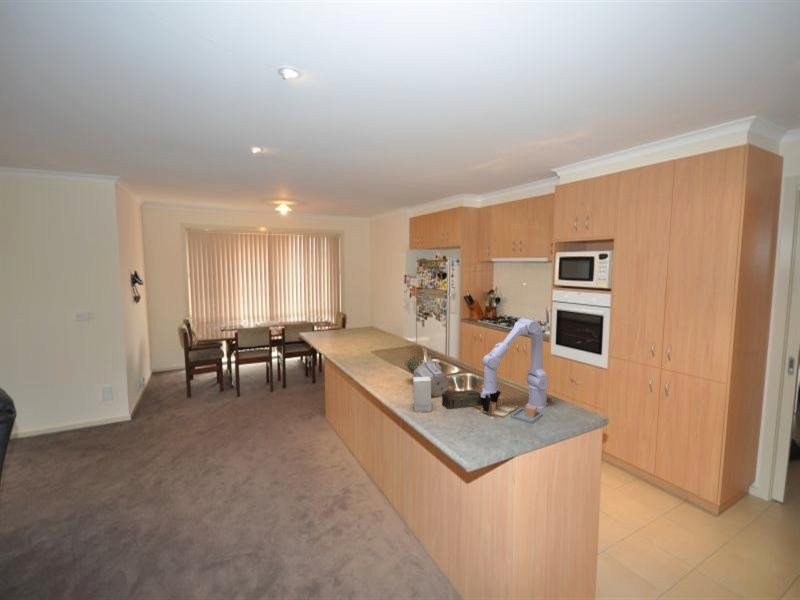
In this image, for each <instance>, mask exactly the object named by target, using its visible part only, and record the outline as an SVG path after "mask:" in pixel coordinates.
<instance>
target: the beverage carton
mask: <svg viewBox="0 0 800 600" xmlns="http://www.w3.org/2000/svg"><path fill="white" fill-rule="evenodd" d="M479 395H481V392H480V391H478V390H465V391H454V392H453V391H451V392H444V393H443V394H442V395H441V400H442V401H441V405H442V406H443V407H444V408H445V409H446V410H454V409H455V410H456V409H465V408H472V407H473V408H474V407H480V406H483V405H482V402H481V400H480V398H479Z"/></svg>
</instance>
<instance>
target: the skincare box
mask: <svg viewBox="0 0 800 600" xmlns="http://www.w3.org/2000/svg"><path fill="white" fill-rule="evenodd" d="M412 386H413V409H414V410H413V411H414V413H427V412H428V413H430V412H432V397H431V379H430V377H413V376H412Z"/></svg>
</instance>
